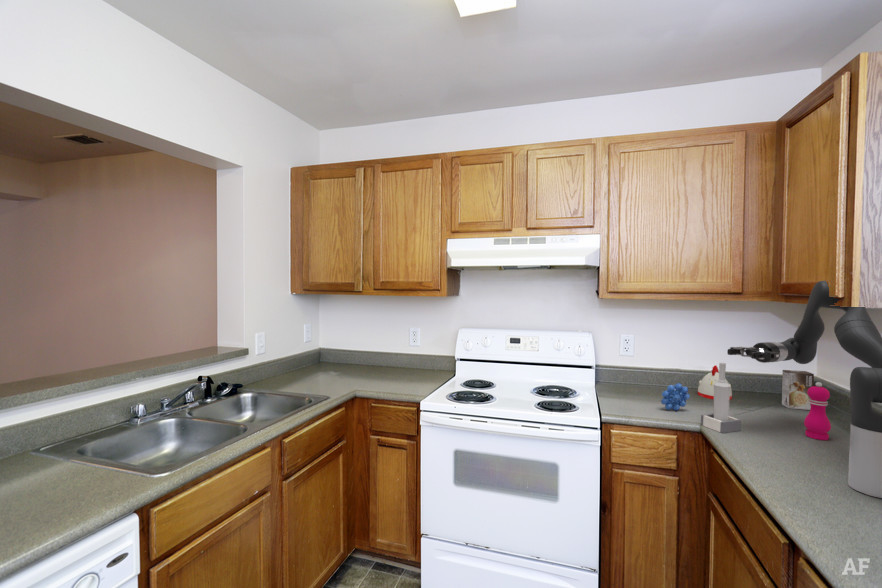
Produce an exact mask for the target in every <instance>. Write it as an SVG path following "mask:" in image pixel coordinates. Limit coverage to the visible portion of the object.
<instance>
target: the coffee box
mask: <svg viewBox="0 0 882 588" xmlns="http://www.w3.org/2000/svg"><path fill="white" fill-rule="evenodd" d="M781 379H782V387H781V405H782V406H784V407H786V408H787V409H793V410H809V411H810V408H811V405H810V403H809V399H810V397H809V396H808V394H807V391H808V389H809V388H810V387H813V386H814V385H815V384H814V381H815V373H812V372H810V371H806V370H793V369H791V370H790V369H782V377H781Z"/></svg>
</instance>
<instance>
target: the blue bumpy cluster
mask: <svg viewBox="0 0 882 588" xmlns="http://www.w3.org/2000/svg"><path fill="white" fill-rule="evenodd" d="M688 392H689V388H688V387H687V386H683V385H682V383H678V382H677V383H675V385H674V384H669V385H668V386H667V388H666V390H664V391H662V392H661V397H663V398H661V399H660V402H661V404H662V405H665V406H664V408H665V409H666V410H667V411H671V410H673V411H679V410H680V408H684V407H685V406H686V405H687V403H688V402H687V400H690V397H691V395H690V393H688Z"/></svg>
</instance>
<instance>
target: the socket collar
mask: <svg viewBox="0 0 882 588" xmlns="http://www.w3.org/2000/svg"><path fill="white" fill-rule="evenodd" d="M700 425H701V426H703V427H705V428H708V429H711V430H714V431H716V432H719V433H721V434H727V433H736V432H740V431H742V429H741V428H742V419H739V418H735V417H733V416H730V415H729V419H728V421H720V420H717V419H714V412H713V413H707V414H706V413H705V414H701V415H700Z"/></svg>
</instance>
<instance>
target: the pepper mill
mask: <svg viewBox="0 0 882 588" xmlns="http://www.w3.org/2000/svg"><path fill="white" fill-rule="evenodd" d="M807 394H808V396H809V397H810V399H809V403H810V405H811V408H810V410H809V413H808V414H807V415H806V417H805V418H804V420H803V425H804V427H805V428H806V429H805V433H804V434H805V436H806V437H808V438H811V439H815V440H819V441H828V440H829V439H830V438H829V437H830V435H829V432H830V431H831V429H832V425H831V422H830V420H829V418H828V416H827V413H826V407H827V406H828V404H829V401H827V400H829V398H830V397H831V393H830V391H829V390H828V389H827V388H825V387H824V386H823V383H822V382H821V381H820V382H819V381H818V382H816V383H815V386H813V387H810V388H809V389H808V391H807Z"/></svg>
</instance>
